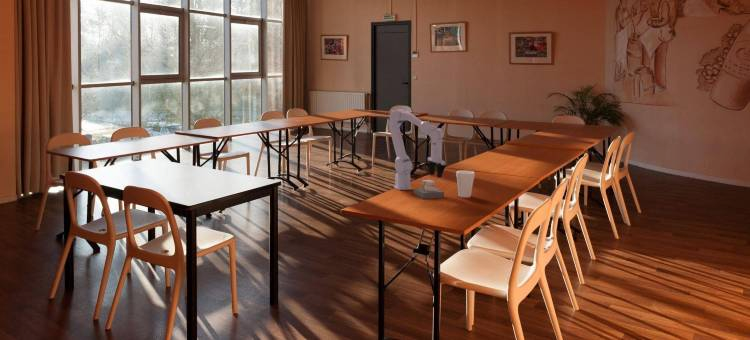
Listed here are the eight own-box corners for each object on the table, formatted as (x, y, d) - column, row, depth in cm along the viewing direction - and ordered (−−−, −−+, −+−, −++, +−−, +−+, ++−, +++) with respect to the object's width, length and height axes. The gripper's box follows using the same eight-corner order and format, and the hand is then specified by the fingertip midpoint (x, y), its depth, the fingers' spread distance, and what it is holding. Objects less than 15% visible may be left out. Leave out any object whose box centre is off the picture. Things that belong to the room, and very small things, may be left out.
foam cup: (459, 198, 346) (460, 174, 344) (452, 194, 355) (453, 170, 353) (476, 197, 349) (477, 173, 347) (469, 193, 358) (470, 170, 355)
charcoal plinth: (413, 194, 356) (413, 188, 355) (434, 192, 360) (434, 187, 359) (422, 198, 344) (423, 193, 344) (443, 197, 349) (443, 191, 348)
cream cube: (422, 189, 353) (422, 180, 352) (430, 188, 355) (430, 179, 354) (425, 191, 348) (426, 182, 347) (434, 190, 350) (434, 181, 349)
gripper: (423, 149, 359) (422, 174, 361) (437, 153, 346) (436, 179, 348) (434, 148, 362) (433, 173, 364) (448, 152, 349) (447, 178, 351)
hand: (435, 176), depth 356 cm, fingers open, 7 cm apart
